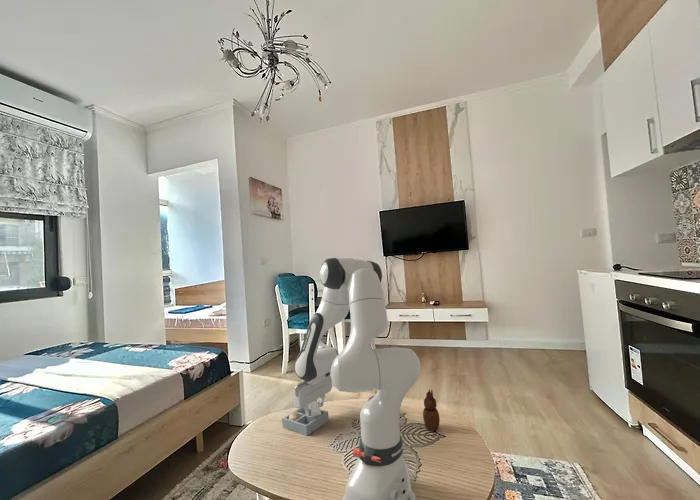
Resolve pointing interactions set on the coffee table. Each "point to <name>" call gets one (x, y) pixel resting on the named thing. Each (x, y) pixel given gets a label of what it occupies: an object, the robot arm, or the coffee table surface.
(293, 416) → the brown ball
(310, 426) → the grey compartment tray
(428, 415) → the wooden figurine
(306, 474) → the coffee table surface
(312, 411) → the pepper shaker
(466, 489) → the coffee table surface
